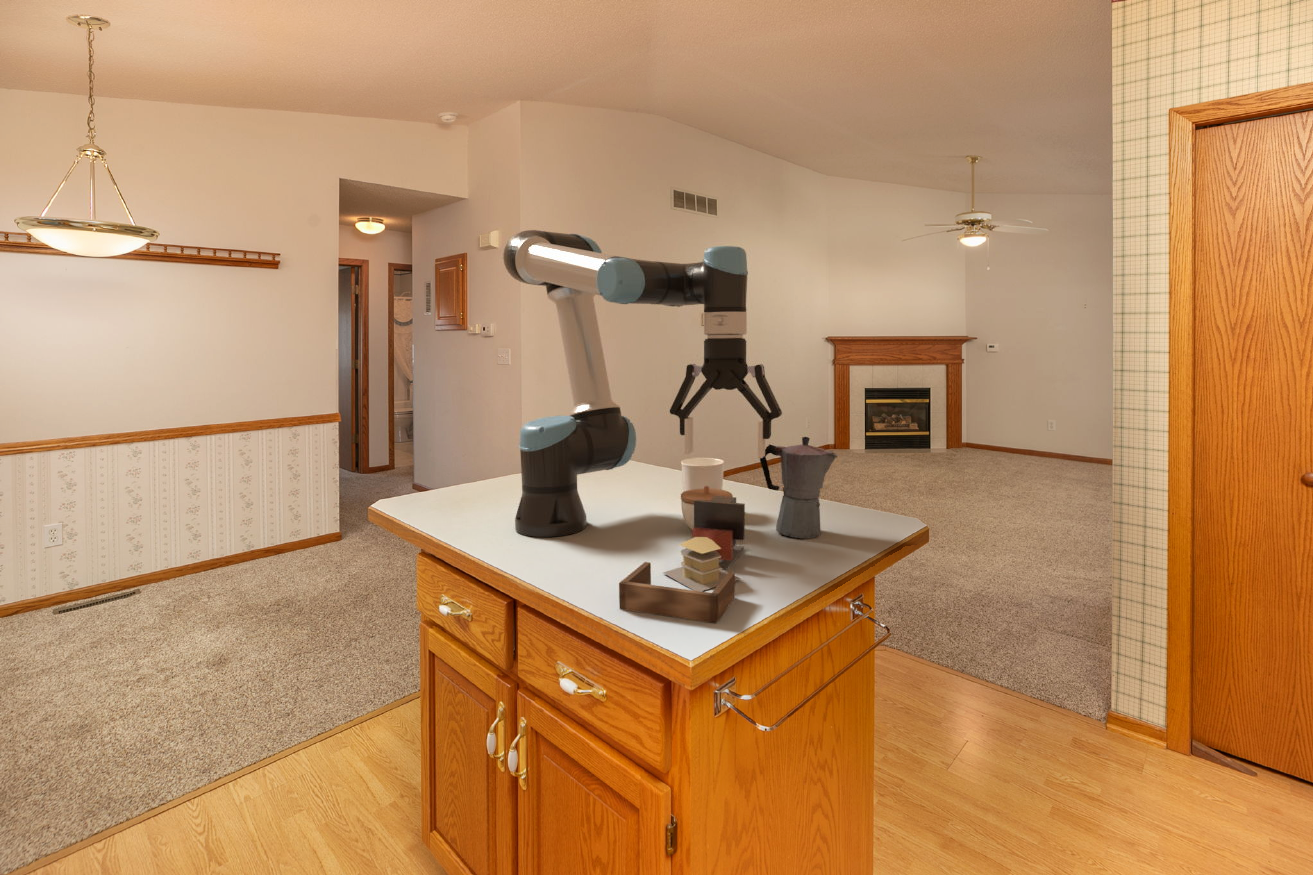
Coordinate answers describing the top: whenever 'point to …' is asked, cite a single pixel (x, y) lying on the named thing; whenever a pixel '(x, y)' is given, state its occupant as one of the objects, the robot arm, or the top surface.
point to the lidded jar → (698, 494)
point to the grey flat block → (727, 563)
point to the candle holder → (702, 473)
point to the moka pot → (799, 487)
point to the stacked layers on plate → (699, 565)
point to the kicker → (720, 523)
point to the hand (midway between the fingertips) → (724, 455)
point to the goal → (674, 597)
